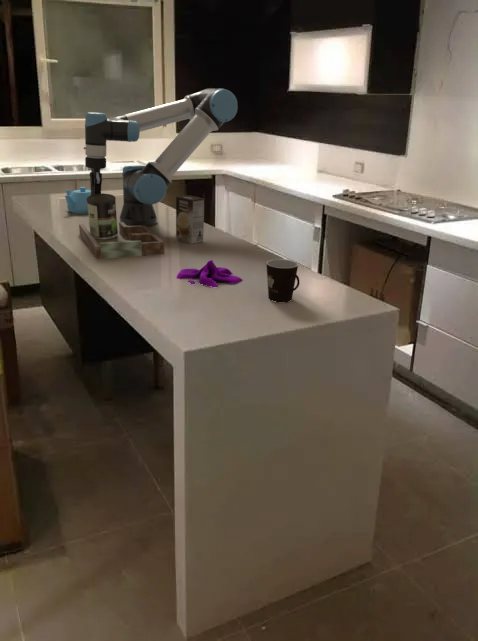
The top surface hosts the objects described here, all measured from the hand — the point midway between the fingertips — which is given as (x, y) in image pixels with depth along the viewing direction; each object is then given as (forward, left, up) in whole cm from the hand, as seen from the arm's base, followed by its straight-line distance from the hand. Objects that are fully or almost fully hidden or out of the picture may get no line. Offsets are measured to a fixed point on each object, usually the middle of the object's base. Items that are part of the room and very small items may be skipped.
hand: (95, 220), depth 235 cm
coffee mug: (-34, +93, -5) cm, 99 cm away
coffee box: (-31, +21, -5) cm, 38 cm away
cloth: (-22, +69, -5) cm, 73 cm away
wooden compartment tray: (-5, +20, -5) cm, 21 cm away
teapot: (-2, -42, -5) cm, 42 cm away
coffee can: (-2, +7, -4) cm, 9 cm away
